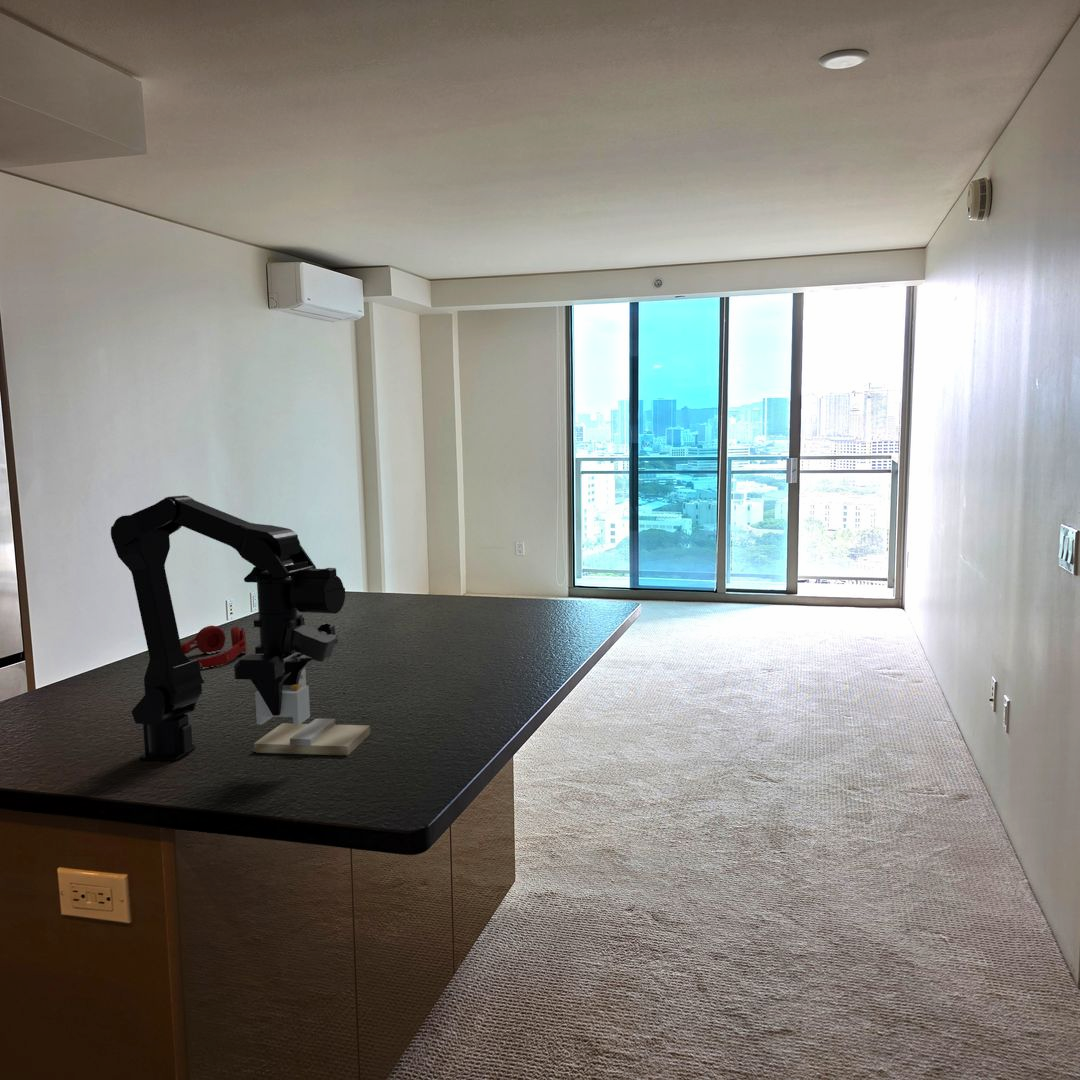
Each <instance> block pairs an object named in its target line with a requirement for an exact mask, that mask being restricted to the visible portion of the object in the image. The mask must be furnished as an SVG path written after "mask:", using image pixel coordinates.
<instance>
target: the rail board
mask: <svg viewBox="0 0 1080 1080" xmlns="http://www.w3.org/2000/svg"><path fill="white" fill-rule="evenodd" d="M370 735H371V725H370V724H369V725H367V724H366V725H365V724H364V725H363V724H361V725H360V724H336V718H315V719H313V720H312V721H310V722H309V723H301V724H300V725H293V723H290V722H289V723H287V722H285V723H283V722H282V723H280V724H279V725H278V726H277V727H275V728H273V729H272V730H271V731H269V732H268V733H267V734H265V735H264V736H262V737H261V738H259V739H258V740H257V741H255V742H254V743H253V753H254V752H256V754H257V753H258V754H259V753H260V754H290V755H293V754H294V755H321V756H322V755H324V756H325V755H328V756H349V755H350V754H351V753H352V752H353V751H354V750H355V749H356V748H357V747H358V746H359V745H361V743H362V742H364V741H365V740H366V739H367V737H369V736H370Z"/></svg>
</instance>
